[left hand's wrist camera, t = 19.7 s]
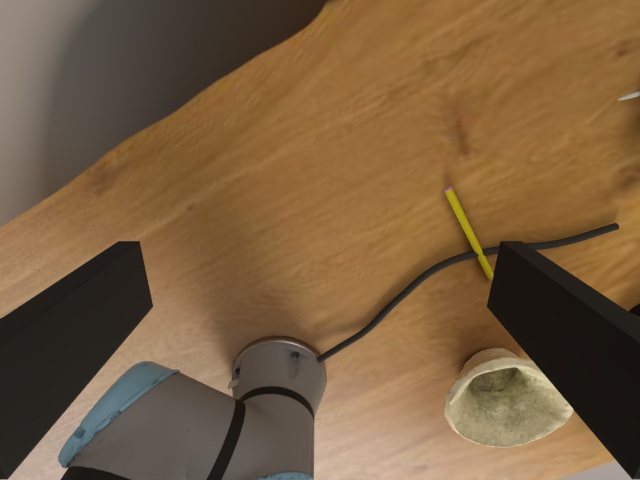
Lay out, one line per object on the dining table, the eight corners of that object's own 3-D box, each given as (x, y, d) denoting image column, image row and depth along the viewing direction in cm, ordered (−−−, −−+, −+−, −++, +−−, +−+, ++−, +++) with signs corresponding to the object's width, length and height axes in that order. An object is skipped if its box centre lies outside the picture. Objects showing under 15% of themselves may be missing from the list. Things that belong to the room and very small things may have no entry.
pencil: (442, 189, 45) (444, 190, 44) (449, 185, 45) (452, 186, 44) (489, 282, 50) (492, 286, 49) (495, 279, 50) (498, 283, 49)
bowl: (520, 336, 59) (562, 428, 54) (420, 364, 59) (452, 458, 54) (568, 332, 45) (627, 453, 41) (438, 368, 46) (482, 492, 41)
